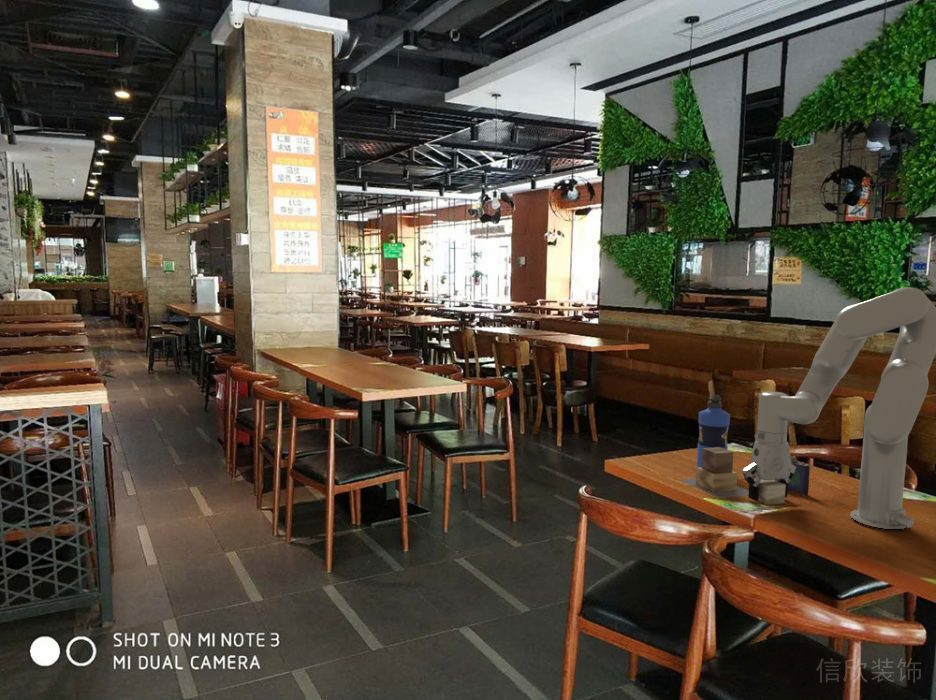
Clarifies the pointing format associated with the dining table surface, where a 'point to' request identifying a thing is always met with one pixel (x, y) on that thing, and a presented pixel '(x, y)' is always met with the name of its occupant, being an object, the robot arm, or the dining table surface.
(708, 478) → the base block
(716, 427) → the water bottle
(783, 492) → the birch cube
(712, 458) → the walnut cube
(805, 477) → the flask
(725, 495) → the slate board
